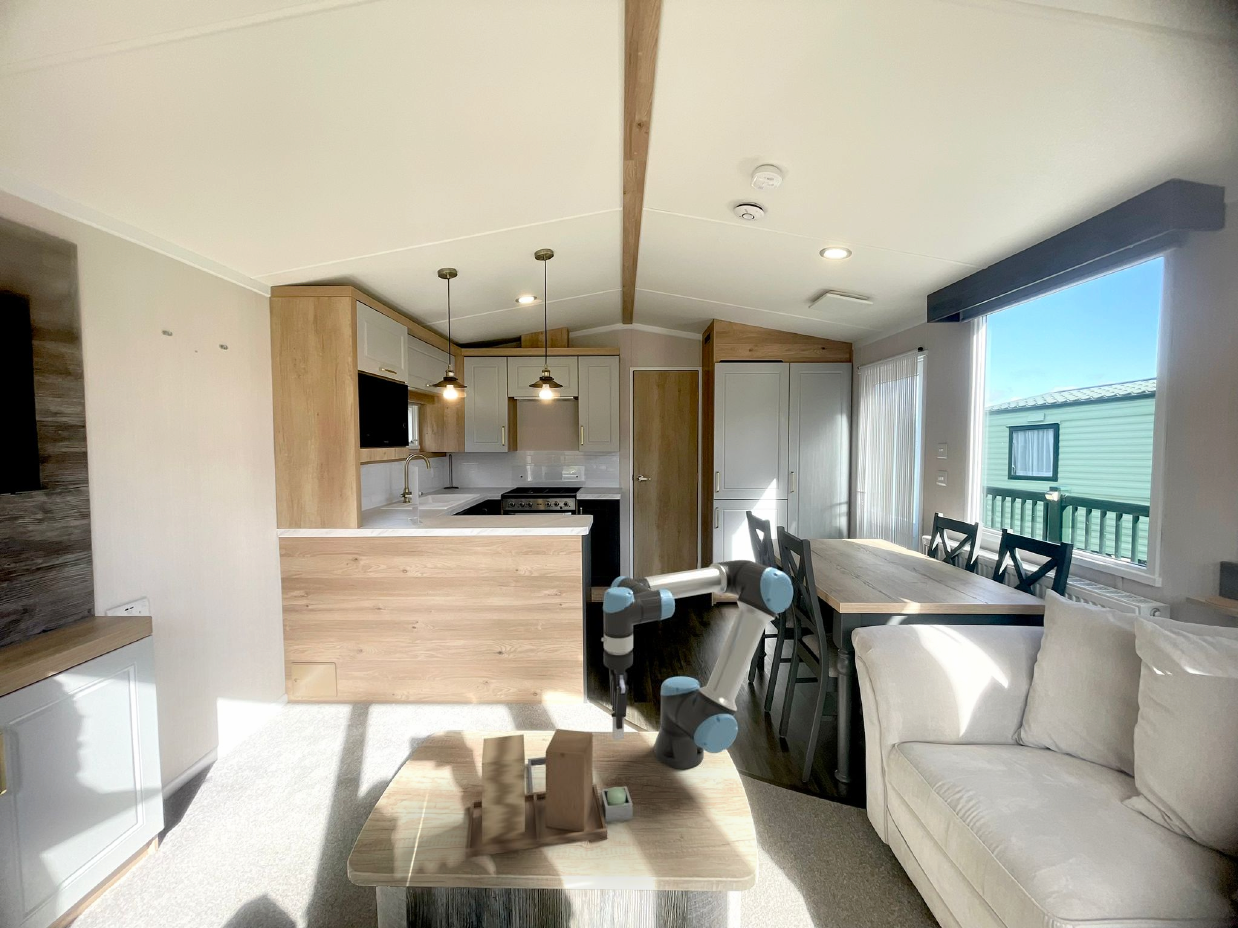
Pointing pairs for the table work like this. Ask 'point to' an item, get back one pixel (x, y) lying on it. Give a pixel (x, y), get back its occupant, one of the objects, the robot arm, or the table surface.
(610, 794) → the button
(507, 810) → the seated billet
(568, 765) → the wooden block
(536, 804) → the divided wooden tray
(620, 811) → the button housing
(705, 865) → the table surface
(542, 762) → the tote frame
